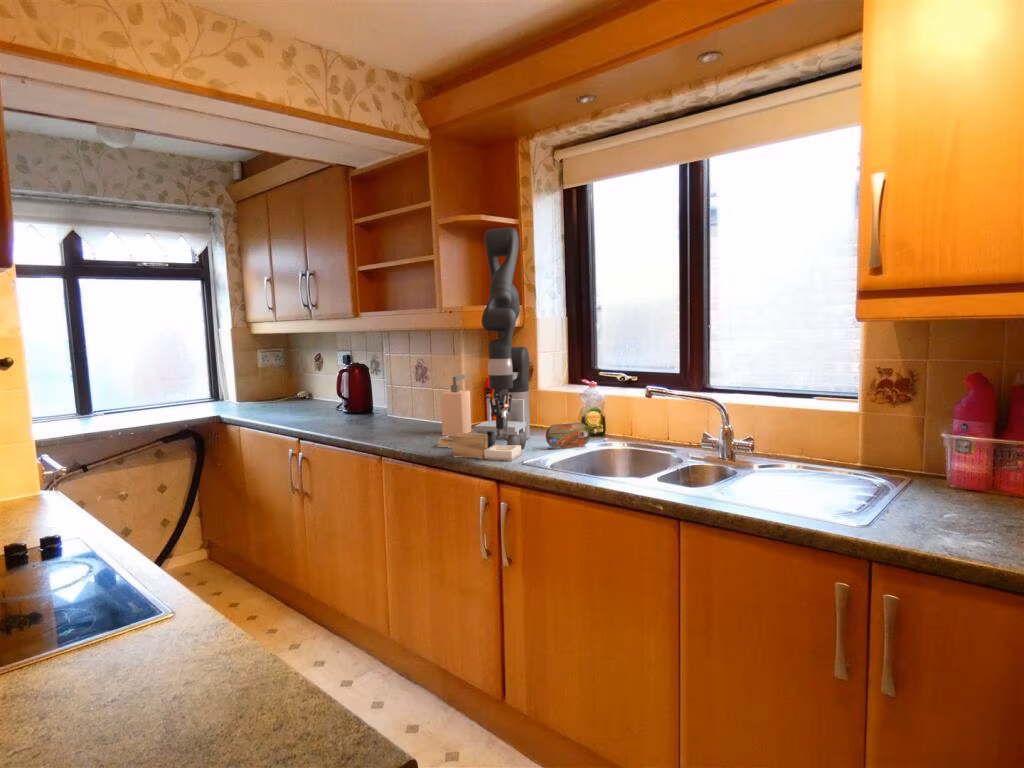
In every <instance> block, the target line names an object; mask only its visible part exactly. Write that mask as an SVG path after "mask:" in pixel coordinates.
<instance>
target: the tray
mask: <svg viewBox="0 0 1024 768" xmlns="http://www.w3.org/2000/svg"><path fill="white" fill-rule="evenodd" d="M484 456H485V457H484V460H485V459H488V460H487V461H499V460H510V461H509V462H513V461H514V460H516V459H518V458H519V457H520V456H522V449H521V446H518V445H507V444H495V445H493V446H491V447H489V448H487V449H486V450H484ZM515 458H516V459H515ZM512 460H513V461H512Z"/></svg>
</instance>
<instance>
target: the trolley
mask: <svg viewBox="0 0 1024 768" xmlns="http://www.w3.org/2000/svg"><path fill="white" fill-rule="evenodd" d="M490 399H491V398H487V399H486V414H487V420H485V421H483V422H480V423H479V424H476V425H474V431H475V432H476V434H487V445H488V447H491V446H493V445H496V439H497V438H496V436H497V435H496V433H497V428H496V420H492V409H491V404H490ZM511 403H520V415H521V421H508V426H507V432H508V435H509V436H508V439H506V445H518V446H521V450H524V449H525V447H526V443H527V439H526V434H525V432H524V431H525V427H526V422H524V399H512V401H511Z"/></svg>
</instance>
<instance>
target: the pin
mask: <svg viewBox="0 0 1024 768" xmlns="http://www.w3.org/2000/svg"><path fill="white" fill-rule="evenodd" d="M500 407H502V405H500ZM507 408H509V404H505V410H504V413H503V421H504V428H503V429H497V432H496V433H497V434H496V436H497V437H498V438H505V437H506V436H507Z"/></svg>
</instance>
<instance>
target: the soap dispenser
mask: <svg viewBox="0 0 1024 768" xmlns="http://www.w3.org/2000/svg"><path fill="white" fill-rule="evenodd" d="M465 379H466V374H461V375H456V376H453V377H452V385H450V390H447V391H443V392H441V393H440V411H441V431H442V432H441V436H444V435H455V434H457V433H469V432H470V433H472V417H471V416H472V415H471V413H472V412H471V411H472V410H471V409H472V408H471V390H460V388H461V387H460V385H459V384H458V381H461V380H465Z"/></svg>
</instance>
